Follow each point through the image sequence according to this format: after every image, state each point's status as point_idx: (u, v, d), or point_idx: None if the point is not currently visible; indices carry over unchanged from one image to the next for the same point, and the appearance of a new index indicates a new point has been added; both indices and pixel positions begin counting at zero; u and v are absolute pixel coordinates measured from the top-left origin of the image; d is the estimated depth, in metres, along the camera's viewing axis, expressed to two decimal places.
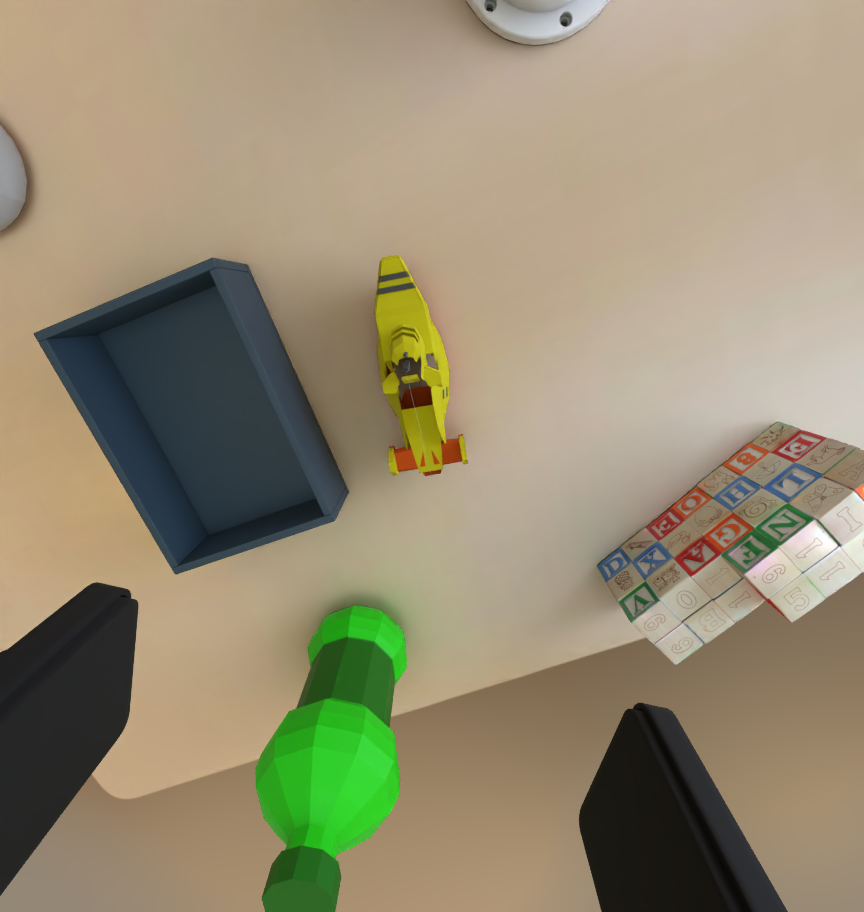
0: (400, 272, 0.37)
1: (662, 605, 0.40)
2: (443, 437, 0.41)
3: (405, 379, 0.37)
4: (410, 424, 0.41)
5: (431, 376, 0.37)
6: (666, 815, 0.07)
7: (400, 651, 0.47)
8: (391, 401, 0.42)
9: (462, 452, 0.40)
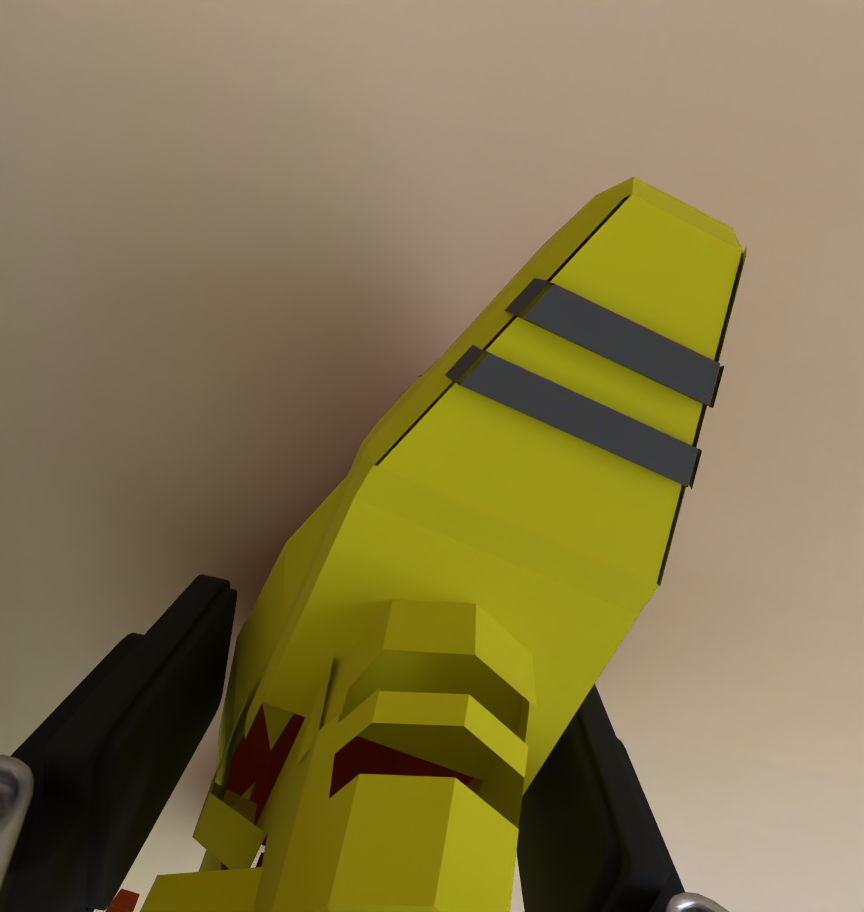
0: (685, 348, 0.05)
1: None
2: None
3: None
4: None
5: None
6: (563, 746, 0.08)
7: None
8: (220, 759, 0.09)
9: None
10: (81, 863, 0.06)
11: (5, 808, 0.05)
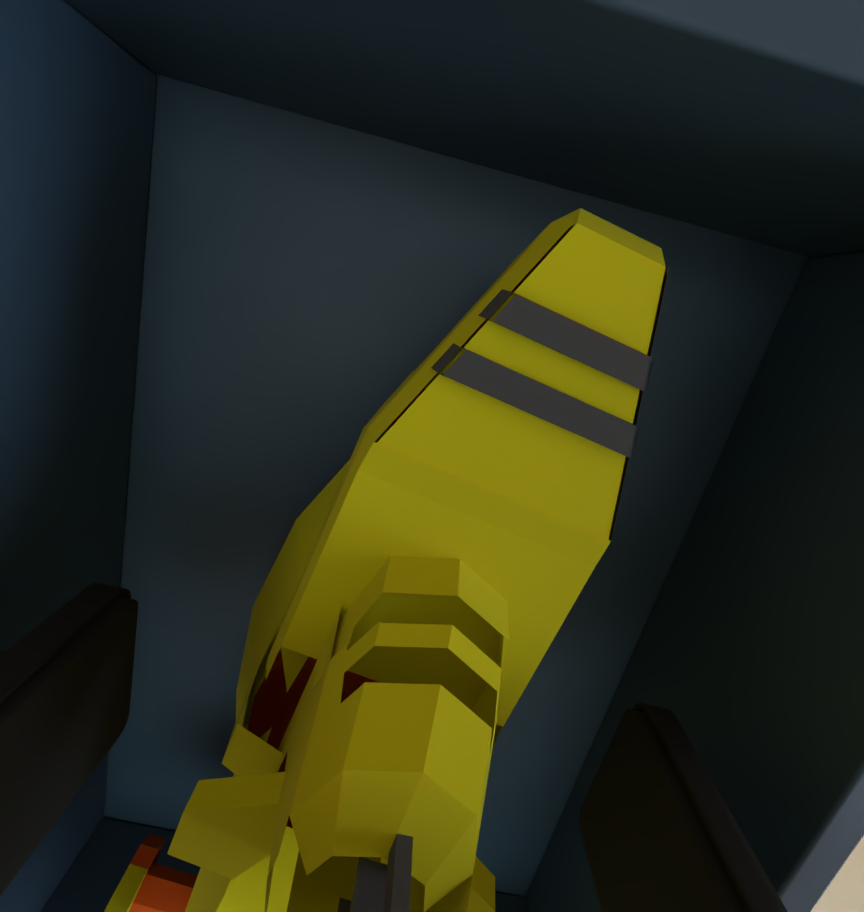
0: (622, 345, 0.06)
1: None
2: None
3: None
4: None
5: None
6: (666, 815, 0.07)
7: None
8: (239, 712, 0.10)
9: None
10: None
11: None
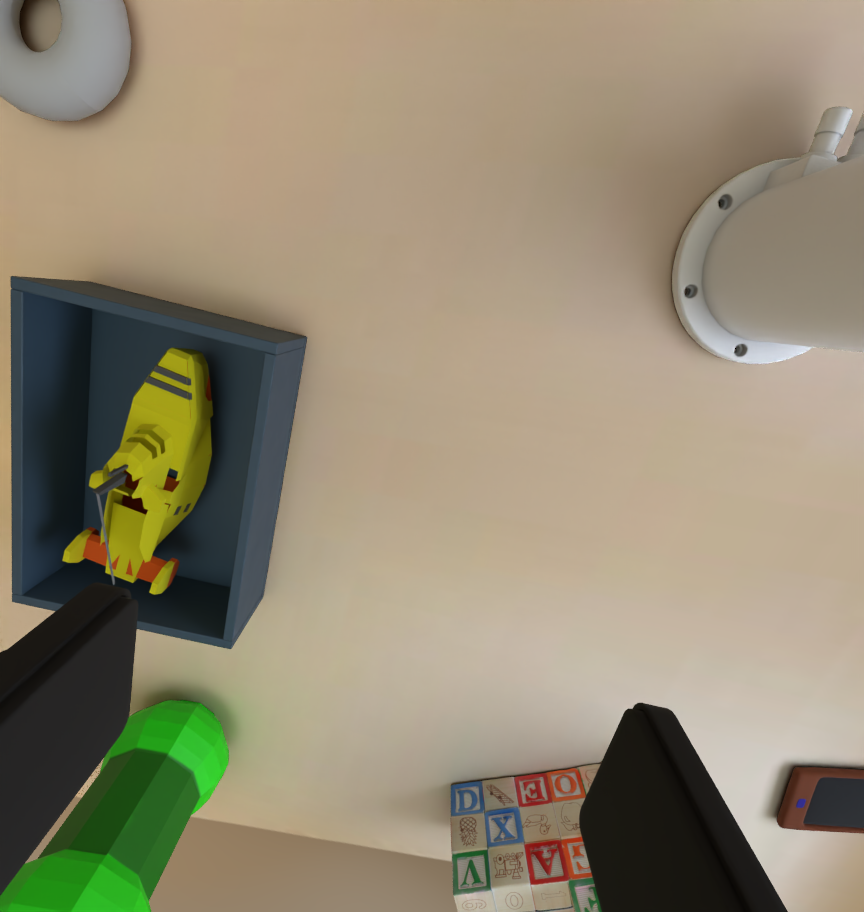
0: (182, 375, 0.30)
1: (490, 895, 0.38)
2: (146, 556, 0.34)
3: (113, 489, 0.30)
4: (119, 522, 0.34)
5: (151, 499, 0.31)
6: (666, 815, 0.07)
7: (213, 786, 0.41)
8: None
9: (153, 585, 0.34)
10: None
11: None
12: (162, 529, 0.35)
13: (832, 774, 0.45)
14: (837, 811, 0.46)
